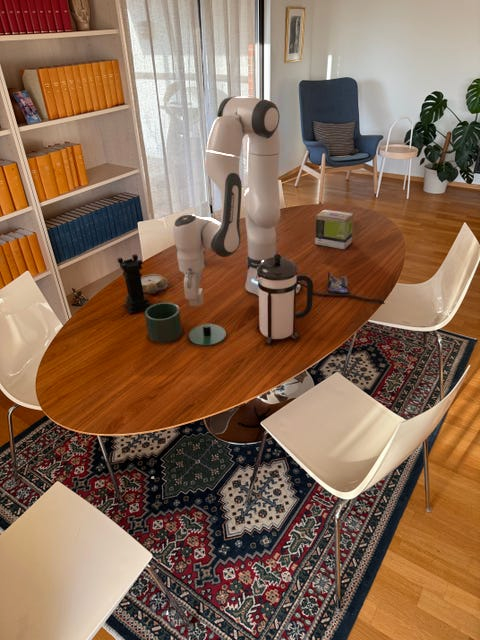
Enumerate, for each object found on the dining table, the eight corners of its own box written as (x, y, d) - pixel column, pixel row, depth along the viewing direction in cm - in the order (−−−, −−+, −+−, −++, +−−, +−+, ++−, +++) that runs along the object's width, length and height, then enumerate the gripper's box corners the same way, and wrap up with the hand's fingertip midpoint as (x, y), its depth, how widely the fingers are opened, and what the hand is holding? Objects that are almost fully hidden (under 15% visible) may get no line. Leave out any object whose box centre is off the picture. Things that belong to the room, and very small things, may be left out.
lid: (227, 326, 166) (226, 315, 163) (224, 347, 155) (224, 336, 153) (191, 327, 167) (190, 315, 164) (186, 348, 156) (185, 336, 153)
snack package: (357, 286, 187) (331, 278, 193) (358, 273, 183) (331, 265, 189) (344, 303, 181) (317, 294, 186) (345, 290, 176) (317, 281, 182)
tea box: (351, 242, 224) (354, 212, 216) (344, 250, 217) (346, 219, 209) (322, 237, 231) (324, 208, 223) (314, 244, 224) (315, 214, 216)
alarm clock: (152, 271, 199) (173, 276, 189) (154, 282, 201) (175, 287, 191) (130, 281, 192) (150, 286, 182) (133, 292, 194) (153, 297, 184)
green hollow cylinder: (184, 325, 168) (181, 302, 163) (179, 343, 158) (176, 320, 153) (152, 325, 169) (148, 302, 163) (145, 344, 159) (141, 320, 154)
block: (203, 299, 168) (202, 288, 166) (202, 305, 165) (200, 294, 162) (191, 299, 169) (189, 288, 166) (189, 306, 165) (188, 295, 163)
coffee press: (289, 352, 151) (291, 269, 135) (247, 339, 159) (244, 258, 143) (311, 326, 164) (316, 247, 148) (271, 315, 171) (271, 238, 155)
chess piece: (131, 314, 176) (121, 266, 165) (125, 305, 182) (115, 258, 171) (151, 308, 179) (143, 261, 168) (144, 299, 185) (137, 253, 174)
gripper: (197, 276, 149) (201, 313, 157) (203, 250, 167) (207, 284, 174) (177, 277, 150) (183, 314, 157) (186, 251, 167) (190, 285, 175)
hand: (196, 298), depth 166 cm, fingers closed on block, 4 cm apart
